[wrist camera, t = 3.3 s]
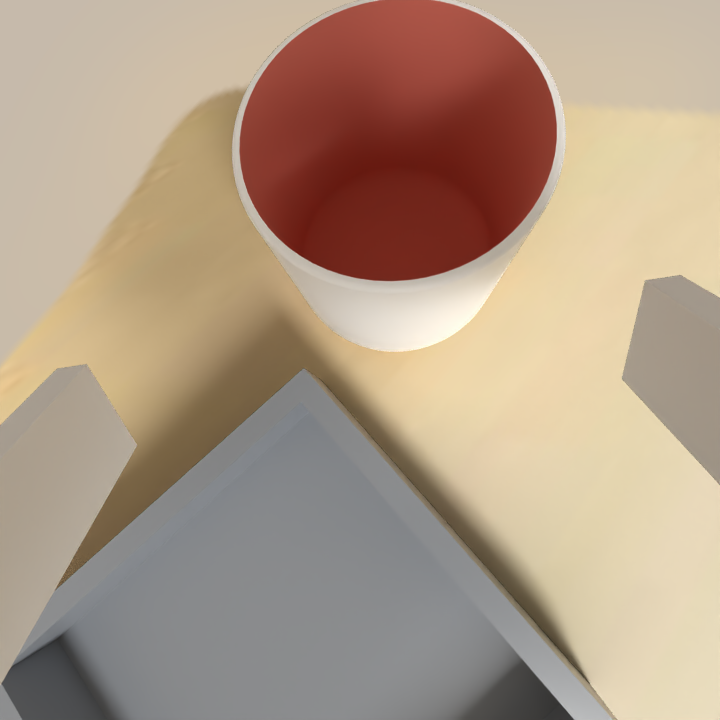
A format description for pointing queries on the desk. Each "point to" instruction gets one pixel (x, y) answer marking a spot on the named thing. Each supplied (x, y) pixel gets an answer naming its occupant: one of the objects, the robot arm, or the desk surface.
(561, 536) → the desk surface
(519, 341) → the desk surface
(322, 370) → the desk surface
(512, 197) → the cup
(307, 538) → the tray
